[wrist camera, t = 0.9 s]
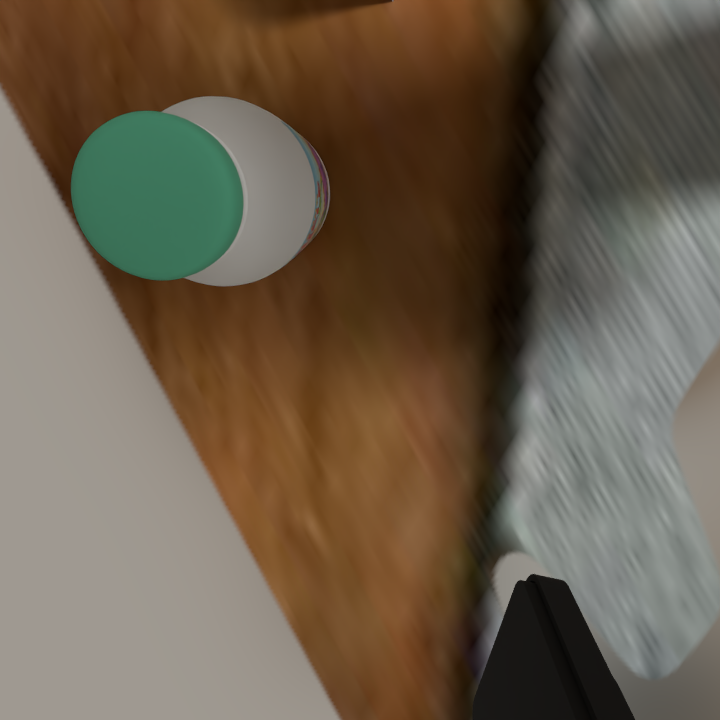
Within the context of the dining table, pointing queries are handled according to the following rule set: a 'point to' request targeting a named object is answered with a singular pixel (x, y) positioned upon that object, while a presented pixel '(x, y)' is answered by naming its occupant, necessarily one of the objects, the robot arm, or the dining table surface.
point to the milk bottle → (199, 192)
